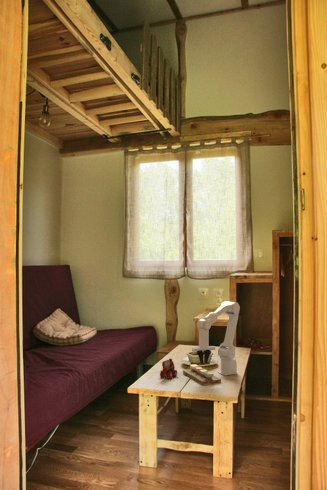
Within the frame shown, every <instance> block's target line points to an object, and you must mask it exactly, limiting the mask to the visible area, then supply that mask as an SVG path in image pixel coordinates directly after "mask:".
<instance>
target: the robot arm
mask: <svg viewBox="0 0 327 490" xmlns="http://www.w3.org/2000/svg"><path fill="white" fill-rule="evenodd" d="M240 309H241V306H240V304H239V303H238V302H237V301H236V302H235V301H227V300H224V301H223V302H222V303H221V304H220V306H219V307H218V308H216V310H215V311H214V312H213V311H212V312H211V311H210V312H208V314H207V315H206V316H204V317H203V318H199V319H198V321H197V323H196V327H197V331H198V346H196V347H192V348H191V352H192V353H195V352H196V354H197V357H198V359H199V362H200V364H201V365H203V364H204V363H205V364H208V361H209V357H210V355H211V353H212V351H216V346H215V345H209V343H210V342H209V340H210V338H209V336H210V334H209V333H210V331H209V330H210V329H211V326H212V325H213V324H214V323H215V322H217V320H218V317H220V316H222V315H223V314H224V313H225V314H226V315H227V316H228V322H227V326H226V331H225V336H224V340H223V342H222V343H220V345H219V348H218V349H217V356H218V357H219V359H220V370H218V371H217V372H218V373H219V374H221V375H223V376H229V375H230V376H231V375H238V373H237V367H238V366H237V365H238V364H237V359H235V357H236V347H235V346H234V344H233V343H234V338H235V335H236V334H235V333H236V330H237V325H238V320H239V314H240V311H241V310H240Z"/></svg>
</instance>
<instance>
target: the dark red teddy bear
mask: <svg viewBox="0 0 327 490" xmlns="http://www.w3.org/2000/svg"><path fill="white" fill-rule="evenodd" d="M161 366H162V370H160V371H159V376H160V378H165V377H166V378H167V379H168V380H172V379H173V378H176V377H177V375H178V370H177V369H175V368H176V367H175V363H174V361H173V359H172V358H171V357H170V358H169V359H166V360H164V361H162V362H161Z"/></svg>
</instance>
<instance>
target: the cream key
mask: <svg viewBox="0 0 327 490" xmlns="http://www.w3.org/2000/svg"><path fill="white" fill-rule="evenodd" d="M195 367H200V366H199V365H197V364H190V366H189V368H190V369H192V371H193V372H194V371H195Z"/></svg>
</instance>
